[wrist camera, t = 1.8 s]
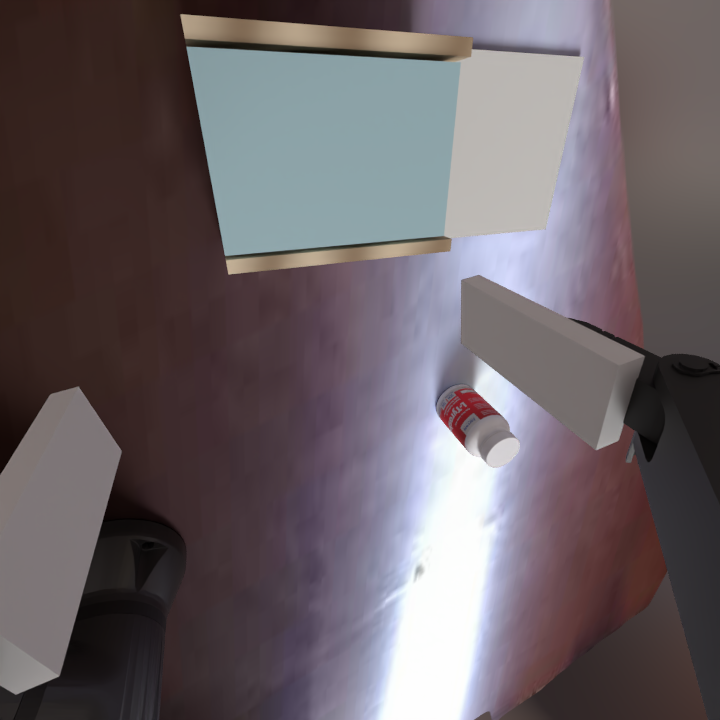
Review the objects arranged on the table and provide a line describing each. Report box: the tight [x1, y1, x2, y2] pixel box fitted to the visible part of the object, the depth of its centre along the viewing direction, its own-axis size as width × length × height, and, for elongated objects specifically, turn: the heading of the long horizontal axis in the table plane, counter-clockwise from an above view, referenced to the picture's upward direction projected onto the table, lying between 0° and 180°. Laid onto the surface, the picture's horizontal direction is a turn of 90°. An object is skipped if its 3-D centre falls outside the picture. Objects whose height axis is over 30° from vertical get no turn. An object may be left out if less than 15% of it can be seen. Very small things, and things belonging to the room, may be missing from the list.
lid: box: [187, 47, 461, 256], centre depth 27 cm, size 17×11×2 cm, turn 91°
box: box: [180, 14, 473, 274], centre depth 30 cm, size 18×14×9 cm
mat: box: [444, 49, 584, 238], centre depth 39 cm, size 16×16×1 cm
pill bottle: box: [436, 384, 520, 468], centre depth 49 cm, size 6×6×11 cm
